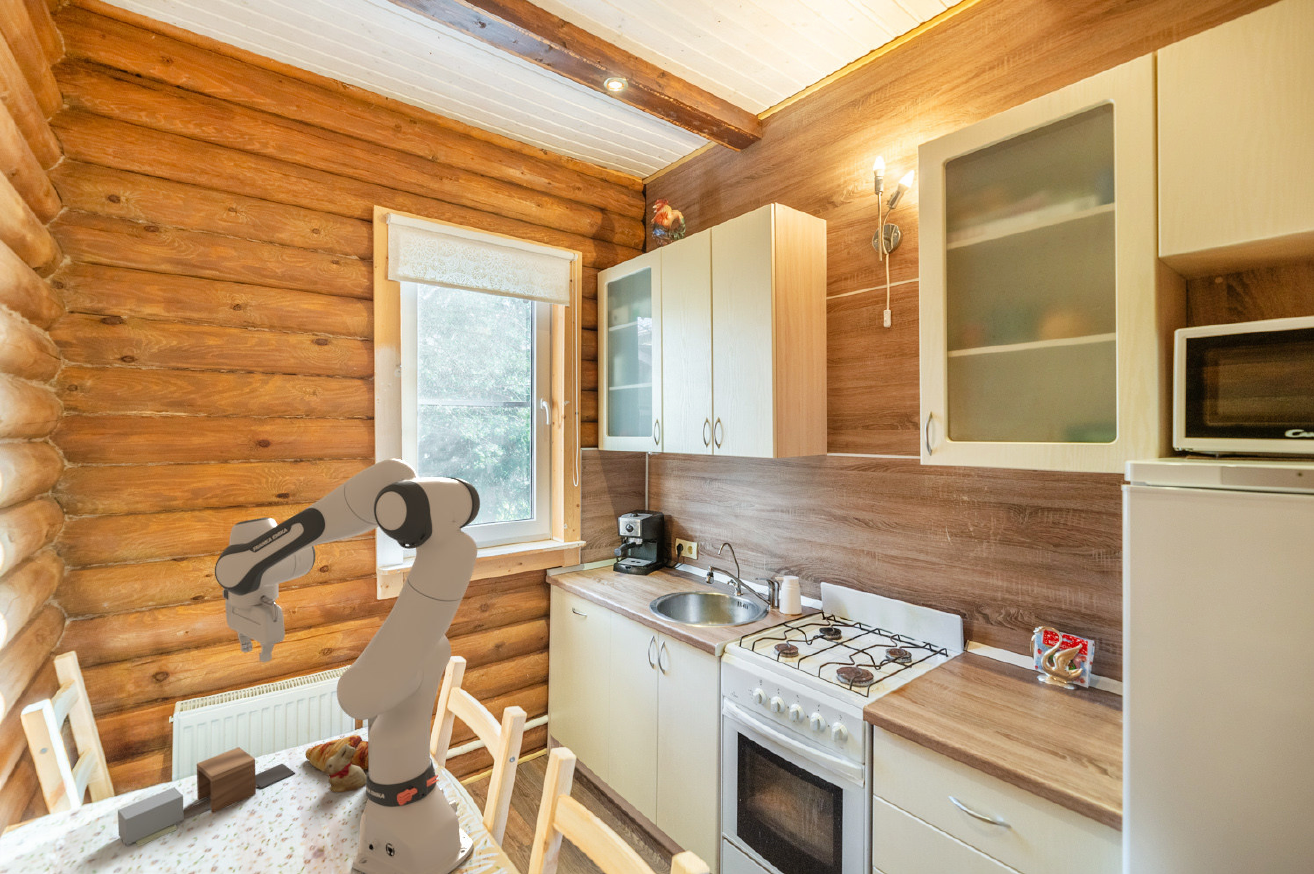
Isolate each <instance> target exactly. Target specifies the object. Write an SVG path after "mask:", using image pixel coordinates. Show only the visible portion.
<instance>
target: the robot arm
mask: <svg viewBox="0 0 1314 874" xmlns="http://www.w3.org/2000/svg"><path fill="white" fill-rule="evenodd" d="M480 508H481V499H480V495H479V492H478V490H477V489H476V488H475V486H474V485H473V484H472V483H470V482H469V481H466V480H464V479H462V478H458V477H442V476H441V477H439V476H438V477H437V476H435V477H432V476H429V477H419V476H418V474H417V472H416V470H415V469H414V468H413V467H412V466H411V464H409V463H407V462H406V461H405V460H401V459H399V458H398V459H397V458H387V459H384V460H382V461H381V460H380V461H379V462H377V463H374V464H372V465H371V466H368V467H366V468H364V469H362V470H361V471H359V472H358V473H356V474H355V475H354V476H353V475H352V477H350V478H349V479H348V480H346V481H345V482H343V483H342V484H341V485H339V486H337V487H336V488H335V489H333V490H332V491H330V492H329V493H327V494H326V495H325V496H323V497H322V498H320V499H318V500H317V501H315V502H314V503H312V504H311V505H309V506H307V507H306V508H304V509H303V510H302V511H299V512H298V513H296V514H294V515H292V516H291V517H289V518H288V519H285V520H284V521H282V522H281V523H279V524H278V523H277V522H276V520H275V519H274V518H272V517H260V518H254V519H253V518H252V519H247V520H243V521H238V522H237V523H235V524H234V525H233V526H232V528H231V530H230V535H229V541H228V546H227V547H225V548H224V550H223V551H221V553H220V555H219V556H218V559H217V560H216V563H215V566H214V576H215V579H216V582H217V583H218V584H219V585H220V587H222V588H223V589H222V598H223V599H224V600H225V603H224V605H225V617H226V623H227V627H228V628H229V629H231V630H233V631H235V632H237V638H238V642H239V644H240V651H241V652H242V653H244V654H245V653H250V652H252V651H253V642H252V640H253V641H256V642H258V643H260V648H261V649H260V650H261V651H260V652H259V654H258V655H259V661H260V662H261V663H267V662H271V660H272V658H273V657H272V656H273V655H272V653H273V650H274V648H275V647H274V646H275V644H278V643H282V642H283V641H284V639H285V635H286V632H285V620H284V613H283V609H282V607H281V606H280V605H279V604H276V600H277V599H279V597H280V594H279V589H280V588H279V584H282V583H286V582H288V581H293V580H296V579H299V578H301V577H303V576H306V575H308V574H309V573H310V572H311V570H312V569H313V567H314V565H315V561H316V550H315V546H318V545H321V544H326V543H331V542H335V541H340V540H345V539H350V538H354V537H358V536H360V535H363V534H366V533H369V532H371V531H373V530H375V529H377V528H380V530H381V531H382V532H383V533H384V534H385V535H386V536H387V537H389V538H391V539H393V540H395V541H396V542H397V544H398V545H399V546H400V547H401V548H404V549H406V550H407V549H408V550H412V549H415V551H416V552H415V555H416V556H415V558H414V562H413V563H412V565H411V567H410V570H409V572H408V575H407V576H406V579H405V581H404V584H402V585H403V586H402V587H401V590H400V592H399V595H398V596H397V598H396V601H395V603H394V605H393V607H392V609H391V611H390V613H389V614H388V615H387V617H386V619H385V620H384V621H383V623H382V624H381V625H380V627H379V628H378V630H377V631H376V633H375V634H374V636H373V637H372V638H371V640H370V641H369V643H368V644H367V646H366V647H365V648H364V650H363V651H362V652H361V653H360V655H359V656H358V657H357V659H356V660H355V661H354V662H353V663H352V664H351V665H350V666H349V667H348V668H347V669H345V671H344V672H343V673H342V674H341V675H340V676H339V679H338V681H337V686H336V697H337V701H338V702H337V703H338V704H339V707H340V708H341V709H342V711H343V712H344V713H345V715H348V717H350V718H353V720H354V719H355V720H358V721H367V720H368V719H370V718H372V717H375V716H377V718H376V720H375V722H374V723H373V725H372V727H371V729H370V732H369V737H368V736H367V741H368V757H369V771H368V770H367V773H366V784H365V789H366V790H365V792H366V793H365V794H366V797H367V801H366V804H365V807H364V810H363V812H362V814H361V816H360V825H359V838H358V839H359V841H358V851H357V852H356V854H355V855H354V857H353V860H352V866H351V867H352V868H353V869H354V870H356V871H359V872H361V873H363V874H450V873H451V872H452V871H453V870H455V869H456V868H457V867H459V866H460V865H461V864H462V863H464V861H465V860H466V859H467V858H468V857H469V856H470V854H471V852H472V851H473V849H474V840H472V839H471V837H469V835H468V834H467V833H466V832H465V831H464V829H462V828H461V826H460V822H459V818H458V815H457V812H458V805H457V802H456V801H455V800H451V801H448V799H447V797H446V796H445V794H444V790H443V788H442V787H441V788H440V787H439V786H438V784H437V782H438V781H439V779H437V778H438V777H439V774H436V772H435V771H436V770H435V766H434V764H433V760H432V758H431V726H432V725H431V723H432V717H433V716H432V715H433V711H434V706H435V704H436V703H435V702H436V697H437V694H438V691H439V688H440V687H439V685H440V684H441V680H442V677H443V674H444V672H445V669H446V667H448V664H449V663H450V660H451V657H452V647H451V643H450V641H449V639H448V637H447V636H446V634H447V632H448V631H449V629H450V627H451V624H452V623H453V621H454V618H455V616H456V614H457V611H458V610H459V607H460V605H461V603H462V601H463V598H464V596H465V594H466V593H467V589H468V586H469V584H470V581H471V579H472V577H473V572H474V569H475V566H476V562H477V556H478V546H477V543H476V541H475V540H474V539H473V538H472V537H471V536H470V535H469V534H467V533H466V532H464V531H462V529H463V528H465V527H467V526H468V525H470V524H471V523H473V521H474V520H475V519H476V518H477V516H478V514H479V511H480ZM251 639H252V640H251Z"/></svg>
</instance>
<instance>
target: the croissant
mask: <svg viewBox="0 0 1314 874" xmlns="http://www.w3.org/2000/svg"><path fill="white" fill-rule="evenodd" d="M345 744H348V745H349V746H350V747H354V748H355V749H356V753H355V754H354V755H353V756H352V757H351V760H350V762H351V765H356V766H359V767H361V768H362V770H363V771H365V770H368V740H367V741H366V740H363V738H362V737H361V736H360V735H359V734H353V735H349V736H346V737H343V738H339V739H333V740H330V741H327V742H325V743H320V744H317V745H315V746H313V747H310V748H308V749H307V750H306V751H305V758H306V759H307V760H308V761H309V764H310V765H312V766H313V767H315V768H316V769H318V770H320V771H322V773H324V774H326V772H325V765H326V762H327V760H328V759H329V758H331V757H333V756H335V755H336V754H337V753H338V751H339V750H340V749H341V748H342V747H343V746H344V745H345Z"/></svg>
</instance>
